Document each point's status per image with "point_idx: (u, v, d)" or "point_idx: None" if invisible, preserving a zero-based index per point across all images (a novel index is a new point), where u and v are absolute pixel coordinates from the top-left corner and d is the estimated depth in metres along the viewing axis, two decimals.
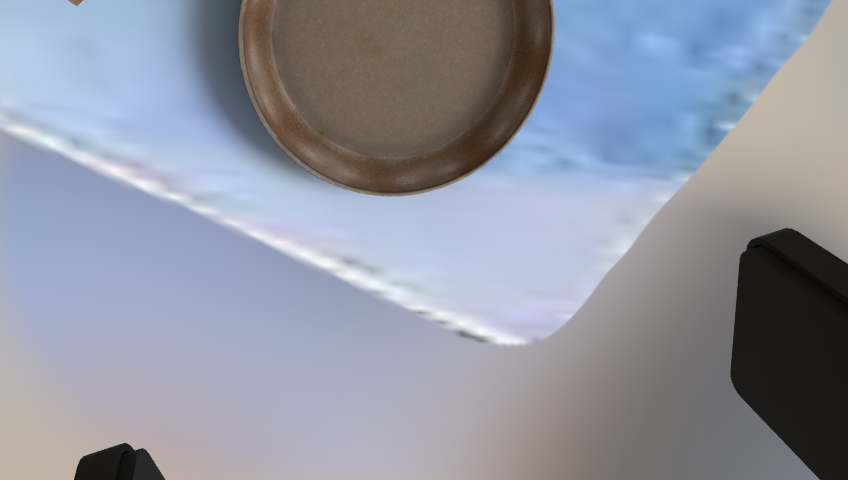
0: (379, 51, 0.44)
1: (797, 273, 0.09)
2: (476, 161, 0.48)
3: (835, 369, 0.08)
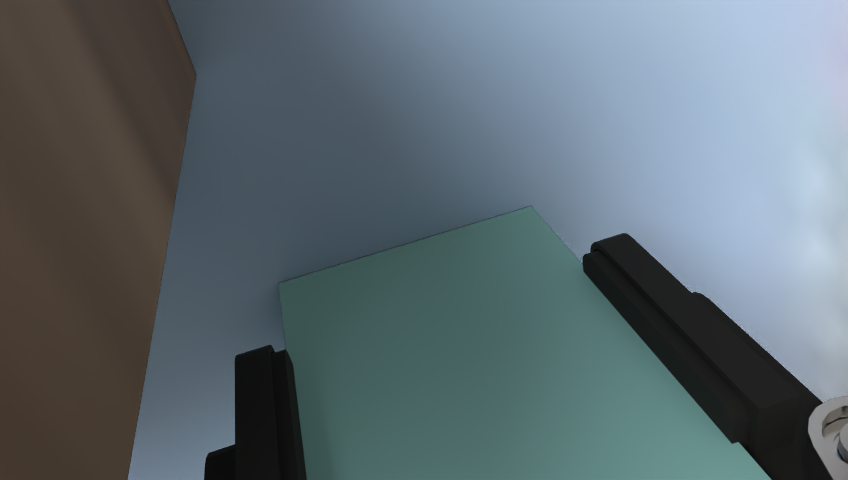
0: None
1: (624, 274, 0.10)
2: None
3: None
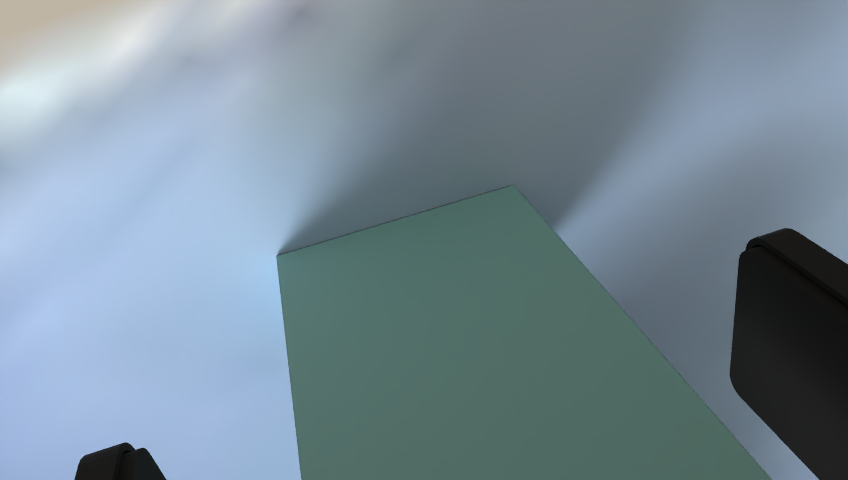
0: None
1: (796, 272, 0.09)
2: None
3: (834, 369, 0.08)
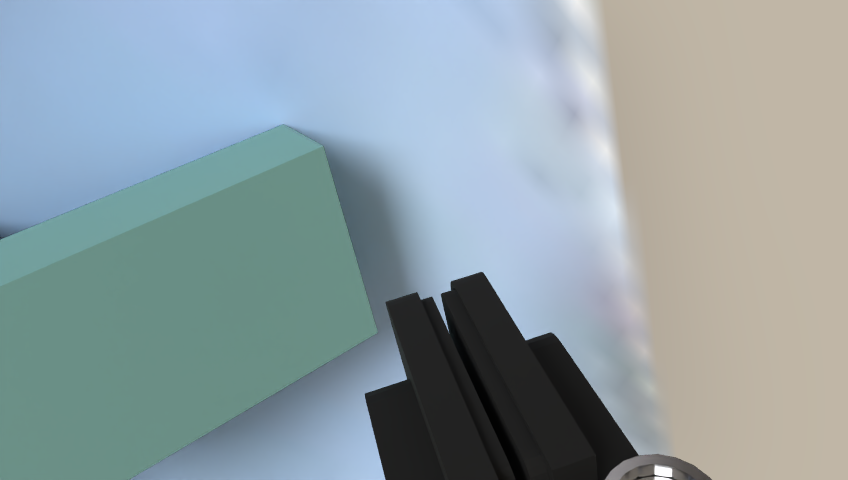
0: None
1: (474, 316, 0.10)
2: None
3: (486, 410, 0.09)
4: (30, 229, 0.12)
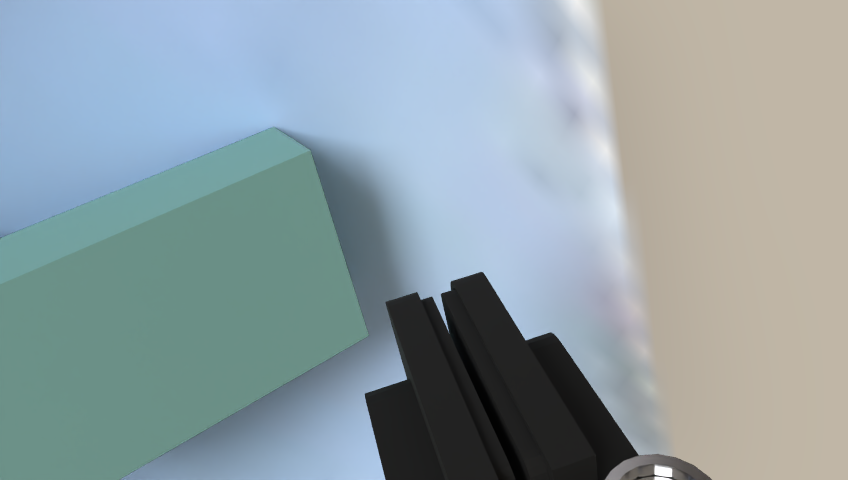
0: None
1: (474, 316, 0.10)
2: None
3: (486, 410, 0.09)
4: (18, 232, 0.12)
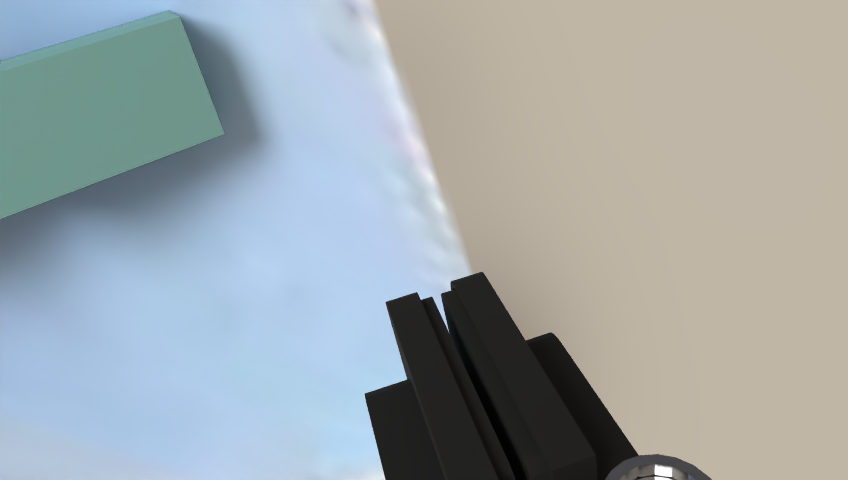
0: None
1: (474, 316, 0.10)
2: None
3: (486, 410, 0.09)
4: (30, 52, 0.25)
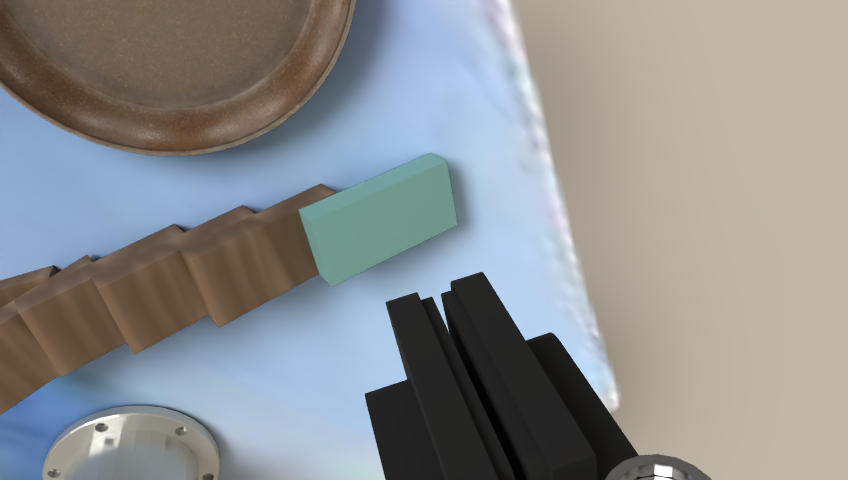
0: None
1: (474, 316, 0.10)
2: None
3: (486, 410, 0.09)
4: (362, 183, 0.43)
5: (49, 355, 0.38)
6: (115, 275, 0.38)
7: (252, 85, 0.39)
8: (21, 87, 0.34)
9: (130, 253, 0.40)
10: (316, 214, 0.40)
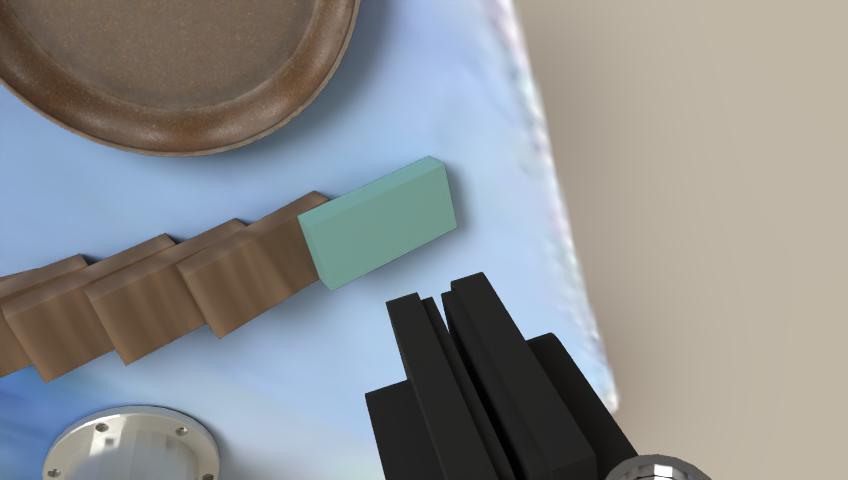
0: None
1: None
2: None
3: (486, 410, 0.09)
4: (360, 187, 0.43)
5: (34, 361, 0.38)
6: (107, 288, 0.38)
7: (256, 87, 0.39)
8: (25, 87, 0.35)
9: (119, 261, 0.40)
10: (314, 220, 0.40)
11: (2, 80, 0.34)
